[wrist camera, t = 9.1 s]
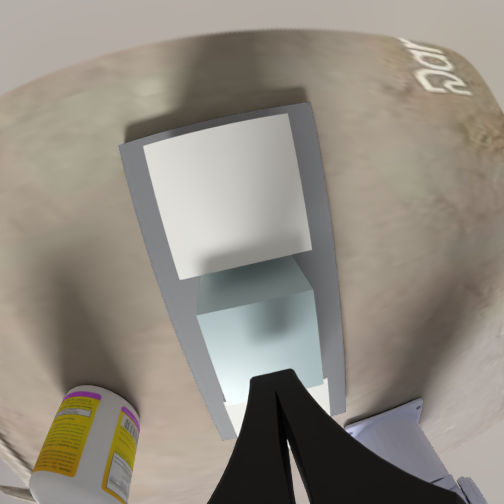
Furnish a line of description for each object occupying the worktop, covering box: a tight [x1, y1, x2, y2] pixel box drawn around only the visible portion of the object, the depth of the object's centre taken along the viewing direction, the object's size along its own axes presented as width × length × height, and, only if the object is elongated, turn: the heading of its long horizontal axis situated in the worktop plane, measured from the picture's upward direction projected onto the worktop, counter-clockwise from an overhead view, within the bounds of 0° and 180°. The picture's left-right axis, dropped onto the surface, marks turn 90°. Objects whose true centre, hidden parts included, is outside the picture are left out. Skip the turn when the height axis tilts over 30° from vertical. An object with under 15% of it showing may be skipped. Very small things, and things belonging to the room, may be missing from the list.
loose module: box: [196, 255, 324, 406], centre depth 14 cm, size 4×4×6 cm
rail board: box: [118, 102, 346, 448], centre depth 16 cm, size 22×10×6 cm, turn 12°
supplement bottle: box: [29, 385, 140, 504], centre depth 15 cm, size 7×7×13 cm
